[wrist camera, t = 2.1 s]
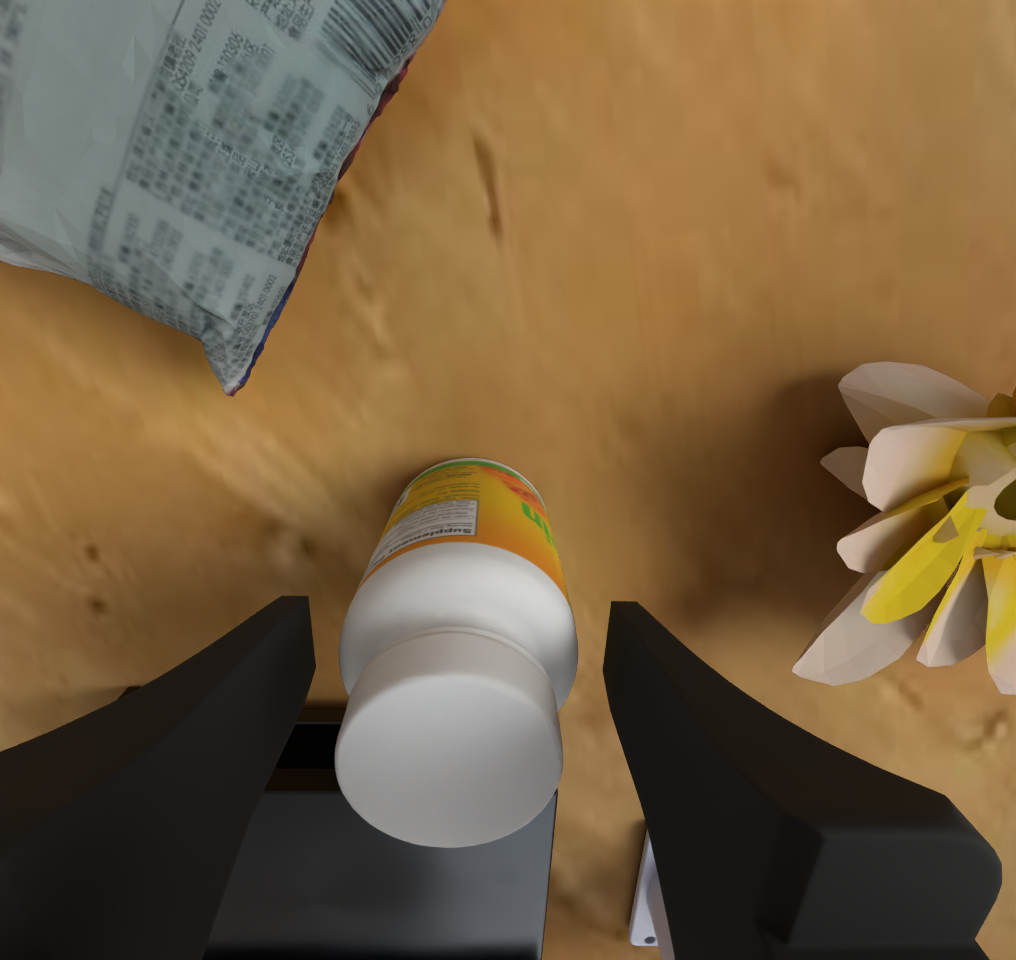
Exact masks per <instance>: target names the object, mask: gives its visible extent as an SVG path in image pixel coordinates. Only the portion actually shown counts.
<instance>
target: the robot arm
mask: <svg viewBox="0 0 1016 960" xmlns="http://www.w3.org/2000/svg"><path fill="white" fill-rule="evenodd" d="M315 669H316V664H315V655H314V645H313V636H312V627H311V617H310V608H309V599H308V596H281V597H279V598H278V599H276V600H275V601H273V602H271V603H270V604H269V605H267V606H266V607H264V608H263V609H261V610H260V611H258V612H257V613H256V614H254V615H253V616H251V617H250V618H249V619H247V620H246V621H244V622H243V623H241V624H240V625H239V626H237V627H236V628H234V629H233V630H231V631H230V632H228V633H227V634H226V635H224V636H223V637H221V638H220V639H218V640H217V641H215V642H214V643H213V644H211V645H210V646H208V647H206V648H205V649H203V650H202V651H200V652H199V653H197V654H195V655H194V656H192V657H191V658H189V659H188V660H186V661H184V662H183V663H181V664H180V665H178V666H177V667H175V668H173V669H172V670H170V671H169V672H167V673H165V674H163V675H162V676H160V677H158V678H157V679H155V680H153V681H151V682H150V683H148V684H146V685H144V686H142V687H141V688H139V689H137V690H135V691H133V692H131V693H129V694H128V695H126V696H124V697H122V698H120V699H118V700H116V701H114V702H112V703H110V704H108V705H106V706H104V707H102V708H100V709H98V710H96V711H93V712H91V713H89V714H87V715H85V716H83V717H81V718H78V719H76V720H74V721H72V722H70V723H68V724H66V725H63V726H61V727H59V728H57V729H55V730H53V731H50V732H48V733H46V734H43V735H41V736H38V737H36V738H34V739H31V740H29V741H26V742H24V743H21V744H19V745H17V746H14V747H11V748H9V749H6V750H4V751H1V752H0V960H202V958H203V955H204V952H205V949H206V946H207V943H208V940H209V937H210V933H211V930H212V927H213V924H214V921H215V919H216V916H217V913H218V910H219V907H220V904H221V901H222V898H223V895H224V892H225V889H226V887H227V884H228V881H229V878H230V875H231V872H232V869H233V867H234V864H235V861H236V858H237V856H238V853H239V850H240V847H241V845H242V842H243V839H244V836H245V834H246V831H247V828H248V825H249V823H250V820H251V818H252V816H253V813H254V811H255V809H256V806H257V804H258V802H259V800H260V798H261V795H262V793H263V791H264V789H265V787H266V785H267V783H268V781H269V779H270V777H271V774H272V772H273V770H274V768H275V766H276V764H277V762H278V760H279V758H280V756H281V754H282V751H283V749H284V747H285V745H286V743H287V741H288V739H289V737H290V735H291V732H292V730H293V728H294V726H295V724H296V722H297V720H298V717H299V715H300V713H301V711H302V709H303V706H304V703H305V700H306V697H307V694H308V691H309V688H310V685H311V682H312V678H313V675H314V672H315ZM603 675H604V680H605V686H606V691H607V696H608V701H609V706H610V711H611V714H612V717H613V720H614V723H615V727H616V730H617V733H618V736H619V739H620V742H621V745H622V748H623V751H624V754H625V757H626V760H627V763H628V766H629V769H630V772H631V775H632V778H633V781H634V784H635V788H636V791H637V794H638V797H639V800H640V803H641V806H642V810H643V814H644V817H645V821H646V824H647V832H646V837H645V843H644V848H643V854H642V859H641V864H640V870H639V875H638V881H637V886H636V892H635V897H634V902H633V908H632V913H631V919H630V924H629V930H628V935H629V940H630V942H631V943H632V944H633V945H635V946H658V947H659V951H660V955H661V959H662V960H989V958H988V957H987V956H986V954H985V953H984V951H983V950H982V949H981V947H980V946H979V945H978V943H977V942H976V941H975V937H976V936H977V934H978V932H979V930H980V928H981V926H982V925H983V923H984V921H985V919H986V917H987V916H988V914H989V912H990V910H991V908H992V906H993V905H994V903H995V901H996V899H997V896H998V893H999V890H1000V888H1001V885H1002V864H1001V861H1000V859H999V858H998V856H997V854H996V852H995V850H994V849H993V848H992V847H991V845H990V844H989V843H988V842H987V841H986V840H985V839H984V838H983V837H982V835H981V834H980V833H979V832H978V831H977V830H976V829H975V828H974V827H973V825H972V824H971V823H970V822H969V821H968V820H967V819H966V818H965V816H964V815H963V814H962V813H961V812H960V811H959V810H958V809H957V808H956V806H955V805H954V804H953V803H952V802H951V801H950V800H949V799H948V798H947V797H946V796H945V795H943V794H941V793H938V792H936V791H934V790H931V789H929V788H926V787H924V786H922V785H919V784H917V783H914V782H912V781H910V780H907V779H905V778H902V777H900V776H898V775H895V774H893V773H890V772H888V771H886V770H883V769H881V768H879V767H876V766H874V765H872V764H870V763H868V762H866V761H864V760H862V759H860V758H858V757H856V756H853V755H851V754H849V753H847V752H845V751H843V750H841V749H839V748H837V747H835V746H833V745H831V744H829V743H828V742H826V741H824V740H822V739H820V738H818V737H816V736H814V735H812V734H811V733H809V732H807V731H805V730H804V729H802V728H800V727H799V726H797V725H795V724H793V723H792V722H790V721H788V720H786V719H785V718H783V717H781V716H780V715H778V714H776V713H775V712H773V711H772V710H770V709H768V708H767V707H765V706H764V705H762V704H761V703H759V702H758V701H756V700H755V699H753V698H752V697H750V696H749V695H747V694H746V693H744V692H743V691H742V690H740V689H739V688H737V687H736V686H735V685H733V684H732V683H730V682H729V681H728V680H726V679H725V678H724V677H723V676H721V675H720V674H719V673H717V672H716V671H715V670H714V669H712V668H711V667H710V666H709V665H707V664H706V663H705V662H704V661H702V660H701V659H700V658H699V657H698V656H696V655H695V654H694V653H693V652H692V651H691V650H689V649H688V648H687V647H686V646H685V645H684V644H683V643H681V642H680V641H679V640H678V639H677V638H676V637H675V636H674V635H672V634H671V633H670V632H669V631H668V630H667V629H666V628H665V627H664V626H663V625H662V624H661V623H659V622H658V621H657V620H656V619H655V618H654V617H653V616H652V615H651V614H650V613H649V612H648V611H647V610H645V609H644V608H643V607H642V606H641V605H640V604H639V603H637V602H627V601H611V609H610V616H609V624H608V632H607V640H606V648H605V656H604V664H603Z"/></svg>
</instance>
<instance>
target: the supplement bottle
mask: <svg viewBox="0 0 1016 960" xmlns="http://www.w3.org/2000/svg"><path fill="white" fill-rule="evenodd" d="M577 663H578V641H577V635H576V627H575V622H574V617H573V613H572V609H571V606H570V602H569V598H568V593H567V590H566V585H565V581H564V577H563V573H562V569H561V565H560V562H559V557H558V553H557V549H556V545H555V541H554V537H553V533H552V529H551V524H550V521H549V517H548V514H547V510H546V508H545V505H544V503H543V501H542V499H541V497H540V495H539V494H538V492H537V491H536V489H535V488H534V487H533V485H532V484H531V483H530V482H529V481H528V480H527V479H526V478H524V477H523V476H522V475H521V474H519V473H518V472H517V471H515V470H514V469H512V468H510V467H508V466H506V465H504V464H501V463H499V462H496V461H492V460H488V459H482V458H460V459H453V460H449V461H445V462H442V463H439V464H437V465H434V466H432V467H431V468H429V469H427V470H425V471H424V472H423V473H421V474H420V475H419V476H417V477H416V478H415V479H414V480H413V481H412V482H411V483H410V484H409V485H408V486H407V488H406V489H405V490H404V492H403V493H402V495H401V496H400V498H399V500H398V501H397V503H396V505H395V507H394V509H393V511H392V513H391V516H390V518H389V520H388V523H387V524H386V527H385V529H384V531H383V534H382V536H381V538H380V540H379V542H378V544H377V546H376V548H375V551H374V553H373V555H372V557H371V560H370V562H369V564H368V567H367V569H366V571H365V573H364V576H363V578H362V580H361V582H360V585H359V587H358V589H357V591H356V593H355V595H354V597H353V599H352V602H351V604H350V606H349V609H348V612H347V615H346V618H345V621H344V624H343V627H342V631H341V636H340V643H339V665H340V672H341V676H342V680H343V684H344V686H345V689H346V692H347V694H348V696H349V700H348V704H347V708H346V712H345V715H344V718H343V722H342V725H341V728H340V731H339V734H338V738H337V742H336V746H335V771H336V775H337V779H338V783H339V786H340V788H341V790H342V793H343V795H344V796H345V797H346V799H347V800H348V802H349V803H350V805H351V806H352V808H353V809H354V810H355V811H356V812H357V813H358V814H359V815H360V816H361V817H362V818H363V819H365V820H366V821H367V822H368V823H369V824H371V825H372V826H374V827H375V828H377V829H379V830H380V831H382V832H384V833H386V834H388V835H390V836H392V837H395V838H397V839H400V840H403V841H406V842H409V843H413V844H417V845H423V846H429V847H443V848H458V847H467V846H474V845H479V844H483V843H488V842H491V841H494V840H497V839H500V838H502V837H505V836H507V835H509V834H511V833H513V832H515V831H517V830H519V829H520V828H522V827H523V826H525V825H526V824H528V823H529V822H530V821H531V820H532V819H534V818H535V817H536V816H537V815H538V814H539V813H540V812H541V811H542V810H543V809H544V808H545V806H546V805H547V804H548V802H549V801H550V799H551V798H552V796H553V794H554V793H555V791H556V789H557V786H558V783H559V780H560V777H561V773H562V766H563V748H562V740H561V732H560V724H559V717H558V711H559V710H560V708H561V707H562V705H563V704H564V702H565V701H566V699H567V697H568V695H569V692H570V690H571V687H572V684H573V682H574V679H575V675H576V671H577Z"/></svg>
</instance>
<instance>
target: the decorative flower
mask: <svg viewBox="0 0 1016 960" xmlns="http://www.w3.org/2000/svg"><path fill="white" fill-rule="evenodd" d="M838 388H839V390H840V392H841V394H842V397H843V399H844V401H845V403H846V405H847V407H848V409H849V410H850V412H851V414H852V416H853V417H854V419H855V421H856V422H857V424H858V426H859V428H860V429H861V431H862V433H863V435H864V436H865V438H866V440H867V441H868V443H869V449H868V448H864V447H839V448H838V449H836V450H834V451H833V452H831V453H830V454H828V455H826V456H825V457H823V458H822V459H821V461H820V464H821V465H822V466H823V467H825V468H826V469H827V470H828V471H829V472H831V473H832V474H833V475H834V476H835V477H837V478H838V479H839V480H840V481H841V482H842V483H844V484H845V485H846V486H847V487H848V488H849V489H851V490H852V491H854V492H855V493H857V494H858V495H860V496H862V497H863V498H865V499H866V500H868V501H869V503H871V504H872V505H874V506H875V507H877V508H878V509H880V510H881V511H883V512H881V513H879V514H877V515H875V516H873V517H872V518H870V519H869V520H867V521H866V522H865V523H863V524H862V525H861V526H859V527H858V528H857V529H855V530H854V531H852V532H851V533H849V534H848V535H847V536H845V537H844V538H842V539H841V540H840V541H839V542H838V543H837V551H838V553H839V554H840V556H841V557H842V559H843V560H844V562H845V563H846V565H847V566H848V568H849V569H852V570H855V571H858V572H861V573H864V574H863V575H862V576H861V577H860V579H859V580H858V581H857V582H856V583H855V584H854V585H853V587H852V588H851V589H850V590H849V591H848V592H847V593H846V595H845V596H844V597H843V598H842V599H841V600H840V601H839V603H838V604H837V605H836V606H835V607H834V608H833V609H832V611H831V612H830V613H829V614H828V615H827V616H826V617H825V619H824V620H823V622H822V623H821V625H820V627H819V628H818V630H817V631H816V633H815V635H814V636H813V638H812V639H811V641H810V642H809V644H808V645H807V647H806V648H805V650H804V651H803V653H802V654H801V656H800V657H799V659H798V660H797V662H796V663H795V665H794V667H793V669H792V672H794V673H795V674H797V675H798V676H800V677H802V678H805V679H809V680H813V681H817V682H820V683H824V684H828V685H832V686H837V685H841V684H846V683H850V682H855V681H860V680H864V679H866V678H868V677H870V676H871V675H873V674H874V673H876V672H878V671H879V670H881V669H883V668H884V667H886V666H887V665H889V664H891V663H892V662H894V661H896V660H897V659H899V658H900V657H901V656H902V655H903V654H904V652H905V651H906V650H907V649H908V648H909V646H910V645H911V644H912V643H913V642H914V640H915V639H916V638H917V637H918V636H919V634H920V633H921V632H922V631H923V630H924V628H925V627H926V625H927V624H928V622H929V621H930V619H931V618H932V616H933V615H934V613H935V612H936V613H935V615H934V618H933V620H932V622H931V624H930V627H929V629H928V631H927V634H926V636H925V638H924V641H923V643H922V646H921V648H920V651H919V653H918V655H917V658H916V660H918V661H919V662H921V663H923V664H924V665H926V666H928V667H936V666H948V665H954V664H956V663H958V662H960V661H962V660H963V659H965V658H967V657H969V656H971V655H972V654H973V653H975V652H976V651H977V650H979V649H980V648H981V647H983V646H984V645H985V646H986V654H987V663H988V671H989V673H990V675H991V677H992V679H993V680H994V682H995V684H996V686H997V688H998V689H999V691H1000V693H1001V694H1014V695H1016V388H1015V390H1014V392H1013V397H1014V398H1012V397H1009V396H1007V395H1004V394H999V393H997V395H996V396H995V398H994V399H993V400H992V401H990V400H989V399H988V398H986V397H984V396H983V395H981V394H979V393H977V392H976V391H974V390H972V389H971V388H969V387H967V386H965V385H964V384H962V383H960V382H959V381H957V380H955V379H953V378H950V377H948V376H946V375H944V374H942V373H939V372H937V371H935V370H933V369H931V368H928V367H926V366H923V365H915V364H906V363H897V362H889V361H886V362H876V363H866V364H862V365H860V366H859V367H857V368H856V369H854V370H853V371H851V372H850V373H848V374H847V375H845V376H844V377H843V378H842V380H841V381H840V383H839V385H838ZM958 564H960V566H959V569H958V572H957V574H956V576H955V577H954V579H953V581H952V583H951V585H950V586H949V588H948V590H947V592H946V581H947V580H948V578H949V577H950V576H951V574H952V573H953V571H954V570H955V568H956V567H957V565H958ZM945 593H946V594H945ZM936 610H937V611H936Z"/></svg>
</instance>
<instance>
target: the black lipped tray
mask: <svg viewBox="0 0 1016 960" xmlns="http://www.w3.org/2000/svg"><path fill="white" fill-rule="evenodd" d="M139 688H141V687H128V688H127V689H126V690H125V691H124V692H123V694H122V695H121V696H120V697H119V698H118V699H120V698H122V697H124V696H126V695H128V694H129V693H131V692H133V691H135V690H137V689H139ZM118 699H117V700H118ZM345 712H346V710H302V711H301V713H300V715H299V717H298V720H297V722H296V724H295V726H294V728H293V730H292V732H291V735H290V737H289V739H288V741H287V743H286V745H285V747H284V749H283V751H282V754H281V756H280V758H279V760H278V762H277V764H276V766H275V768H274V770H273V772H272V774H271V777H270V779H269V781H268V783H267V785H266V787H265V789H264V791H263V793H262V795H261V798H260V800H259V802H258V804H257V806H256V809H255V811H254V813H253V816H252V818H251V820H250V823H249V825H248V828H247V831H246V834H245V836H244V839H243V842H242V845H241V847H240V850H239V853H238V856H237V858H236V861H235V864H234V867H233V869H232V872H231V875H230V878H229V881H228V884H227V887H226V889H225V892H224V895H223V898H222V901H221V904H220V907H219V910H218V913H217V916H216V919H215V921H214V924H213V927H212V930H211V933H210V937H209V940H208V943H207V946H206V949H205V952H204V955H203V958H202V960H542V950H543V940H544V930H545V920H546V910H547V900H548V890H549V879H550V869H551V859H552V849H553V839H554V829H555V818H556V808H557V798H558V789H556V791H555V793H554V794H553V796H552V798H551V799H550V801H549V802H548V804H547V805H546V806H545V808H544V809H543V810H542V811H541V812H540V813H539V814H538V815H537V816H536V817H535V818H534V819H532V820H531V821H530V822H529V823H528V824H526V825H525V826H523V827H522V828H520V829H519V830H517V831H515V832H513V833H511V834H509V835H507V836H505V837H502V838H500V839H497V840H494V841H491V842H488V843H483V844H479V845H474V846H467V847H458V848H443V847H429V846H423V845H417V844H413V843H409V842H406V841H403V840H400V839H397V838H395V837H392V836H390V835H388V834H386V833H384V832H382V831H380V830H379V829H377V828H375V827H374V826H372V825H371V824H369V823H368V822H367V821H366V820H365V819H363V818H362V817H361V816H360V815H359V814H358V813H357V812H356V811H355V810H354V809H353V808H352V806H351V805H350V803H349V802H348V800H347V799H346V797H345V796H344V795H343V793H342V790H341V788H340V786H339V783H338V779H337V775H336V771H335V746H336V742H337V738H338V734H339V731H340V728H341V725H342V722H343V718H344V715H345Z"/></svg>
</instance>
